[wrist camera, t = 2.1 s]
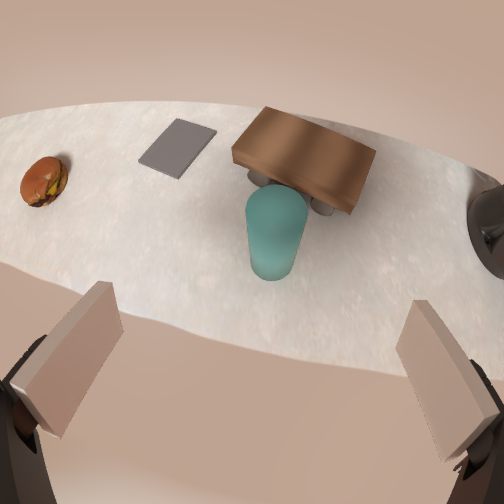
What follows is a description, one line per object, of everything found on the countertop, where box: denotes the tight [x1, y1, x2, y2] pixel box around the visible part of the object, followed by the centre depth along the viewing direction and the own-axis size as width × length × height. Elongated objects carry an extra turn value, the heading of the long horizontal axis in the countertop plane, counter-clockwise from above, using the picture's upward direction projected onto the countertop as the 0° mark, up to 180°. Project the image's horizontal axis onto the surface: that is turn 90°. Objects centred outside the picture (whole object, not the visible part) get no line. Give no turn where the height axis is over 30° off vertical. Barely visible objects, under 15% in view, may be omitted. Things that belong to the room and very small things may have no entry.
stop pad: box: [138, 118, 216, 180], centre depth 41 cm, size 8×10×1 cm
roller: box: [246, 185, 308, 281], centre depth 29 cm, size 5×5×12 cm
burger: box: [20, 157, 68, 207], centre depth 38 cm, size 10×9×5 cm
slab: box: [231, 107, 376, 216], centre depth 36 cm, size 16×9×6 cm, turn 61°
